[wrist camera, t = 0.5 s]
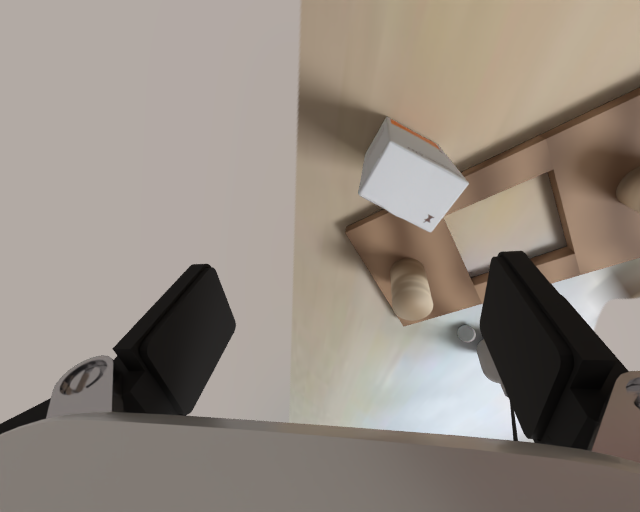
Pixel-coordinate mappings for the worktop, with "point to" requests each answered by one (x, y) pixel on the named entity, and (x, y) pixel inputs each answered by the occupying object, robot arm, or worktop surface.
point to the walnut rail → (503, 173)
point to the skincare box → (410, 176)
